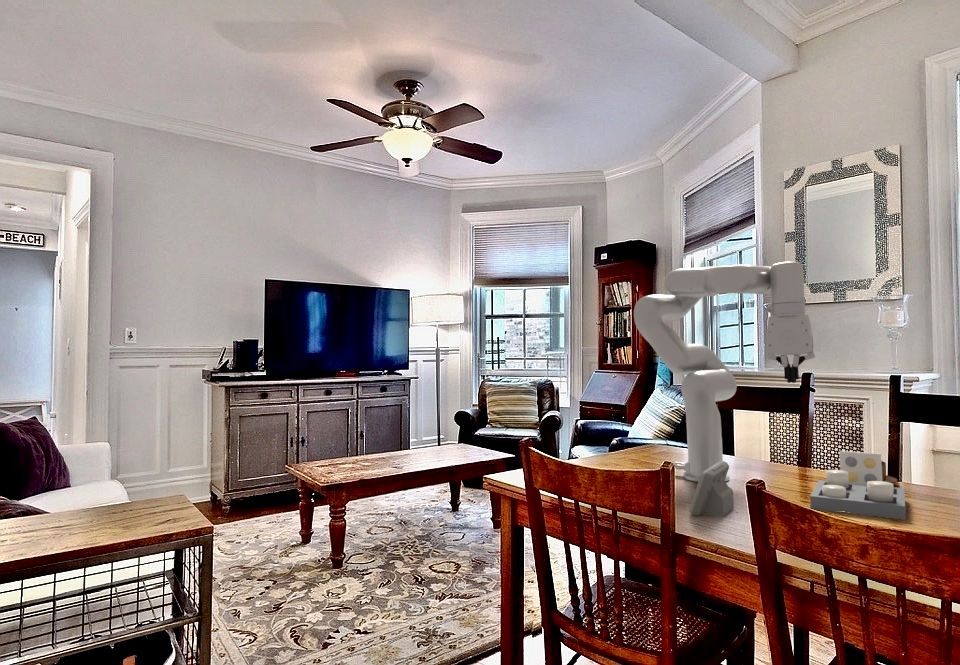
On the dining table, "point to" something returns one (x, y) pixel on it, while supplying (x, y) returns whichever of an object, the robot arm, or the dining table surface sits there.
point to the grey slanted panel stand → (713, 492)
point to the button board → (859, 502)
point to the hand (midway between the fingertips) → (791, 382)
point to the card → (861, 466)
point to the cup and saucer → (884, 476)
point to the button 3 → (880, 491)
